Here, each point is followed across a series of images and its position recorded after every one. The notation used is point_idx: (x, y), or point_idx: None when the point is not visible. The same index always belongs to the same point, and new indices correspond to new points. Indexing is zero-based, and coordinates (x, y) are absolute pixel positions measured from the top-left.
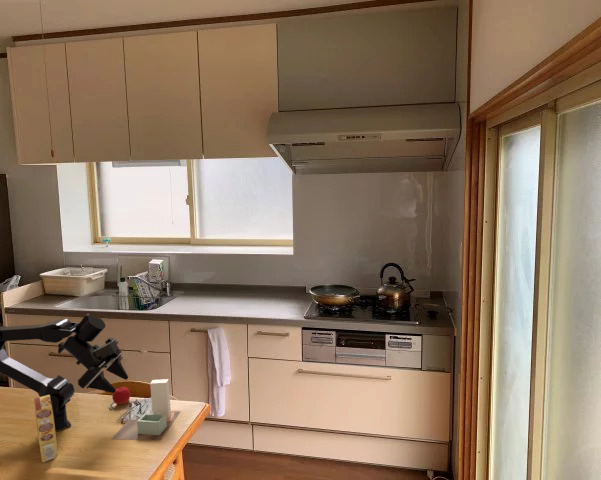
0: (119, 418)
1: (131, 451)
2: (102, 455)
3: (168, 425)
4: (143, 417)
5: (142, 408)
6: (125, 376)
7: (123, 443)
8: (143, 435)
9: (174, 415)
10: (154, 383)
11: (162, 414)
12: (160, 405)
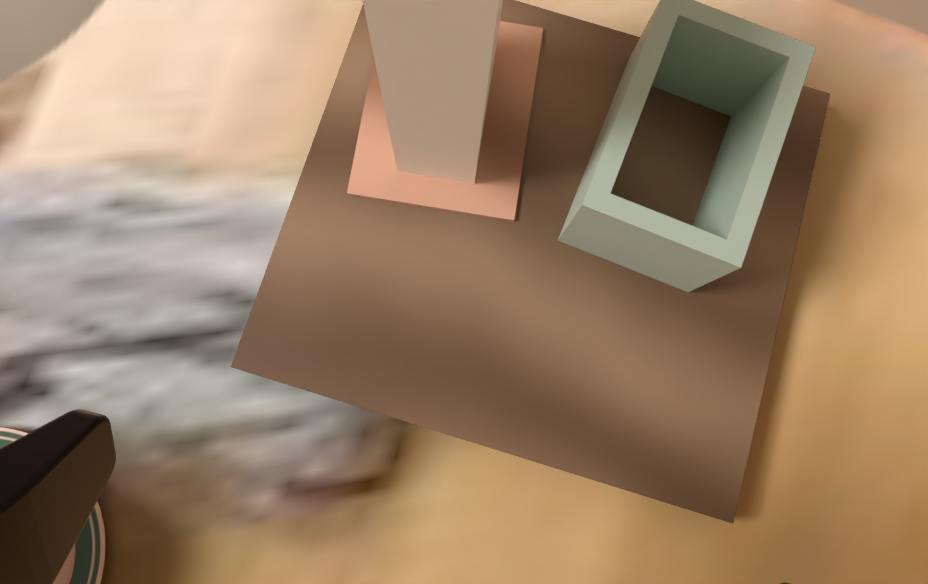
0: (284, 527)
1: (890, 321)
2: (912, 556)
3: (608, 47)
4: (652, 213)
5: (142, 325)
6: (69, 478)
7: None
8: None
9: None
10: None
11: (654, 23)
12: (496, 37)
